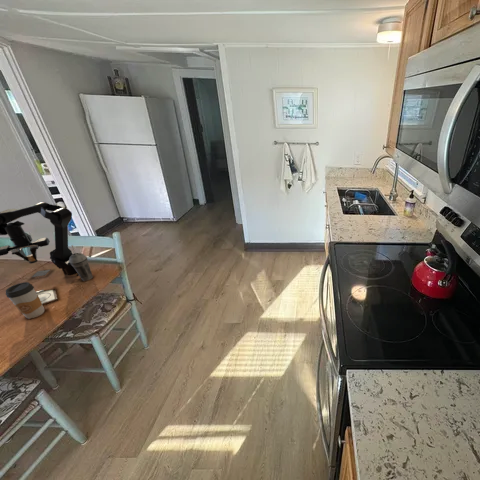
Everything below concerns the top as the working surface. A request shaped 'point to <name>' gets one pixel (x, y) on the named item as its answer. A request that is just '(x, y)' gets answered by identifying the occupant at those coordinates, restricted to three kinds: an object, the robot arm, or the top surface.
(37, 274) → the ink pad
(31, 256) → the stamp
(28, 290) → the coffee cup
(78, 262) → the beverage cup
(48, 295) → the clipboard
